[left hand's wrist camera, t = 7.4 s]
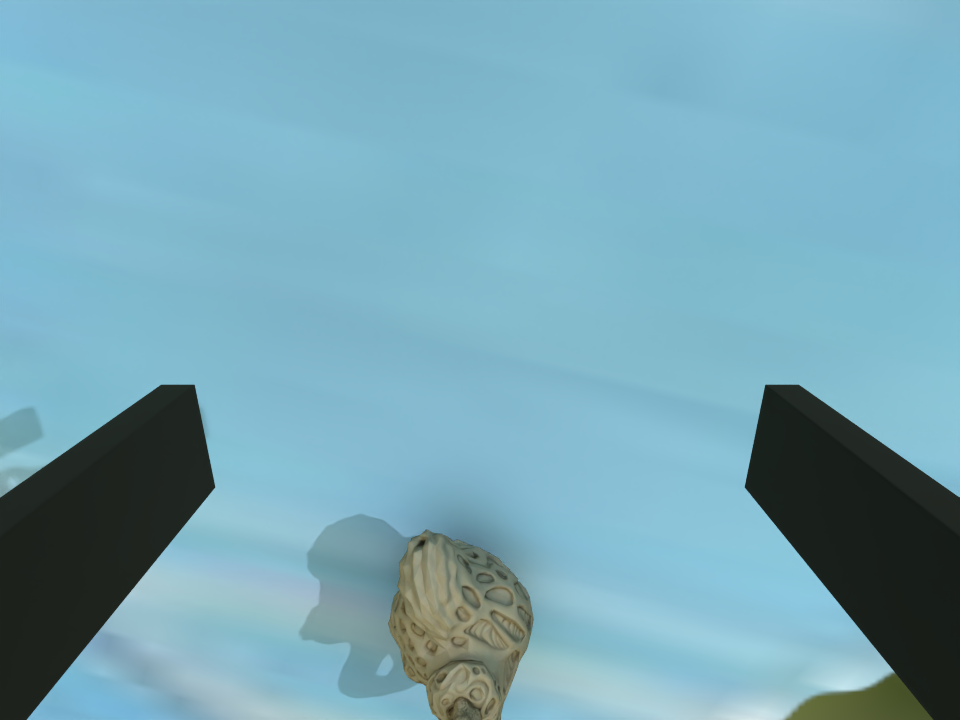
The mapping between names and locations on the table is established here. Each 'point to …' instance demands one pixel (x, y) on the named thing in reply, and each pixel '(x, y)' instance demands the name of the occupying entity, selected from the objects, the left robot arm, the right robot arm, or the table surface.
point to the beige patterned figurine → (459, 626)
